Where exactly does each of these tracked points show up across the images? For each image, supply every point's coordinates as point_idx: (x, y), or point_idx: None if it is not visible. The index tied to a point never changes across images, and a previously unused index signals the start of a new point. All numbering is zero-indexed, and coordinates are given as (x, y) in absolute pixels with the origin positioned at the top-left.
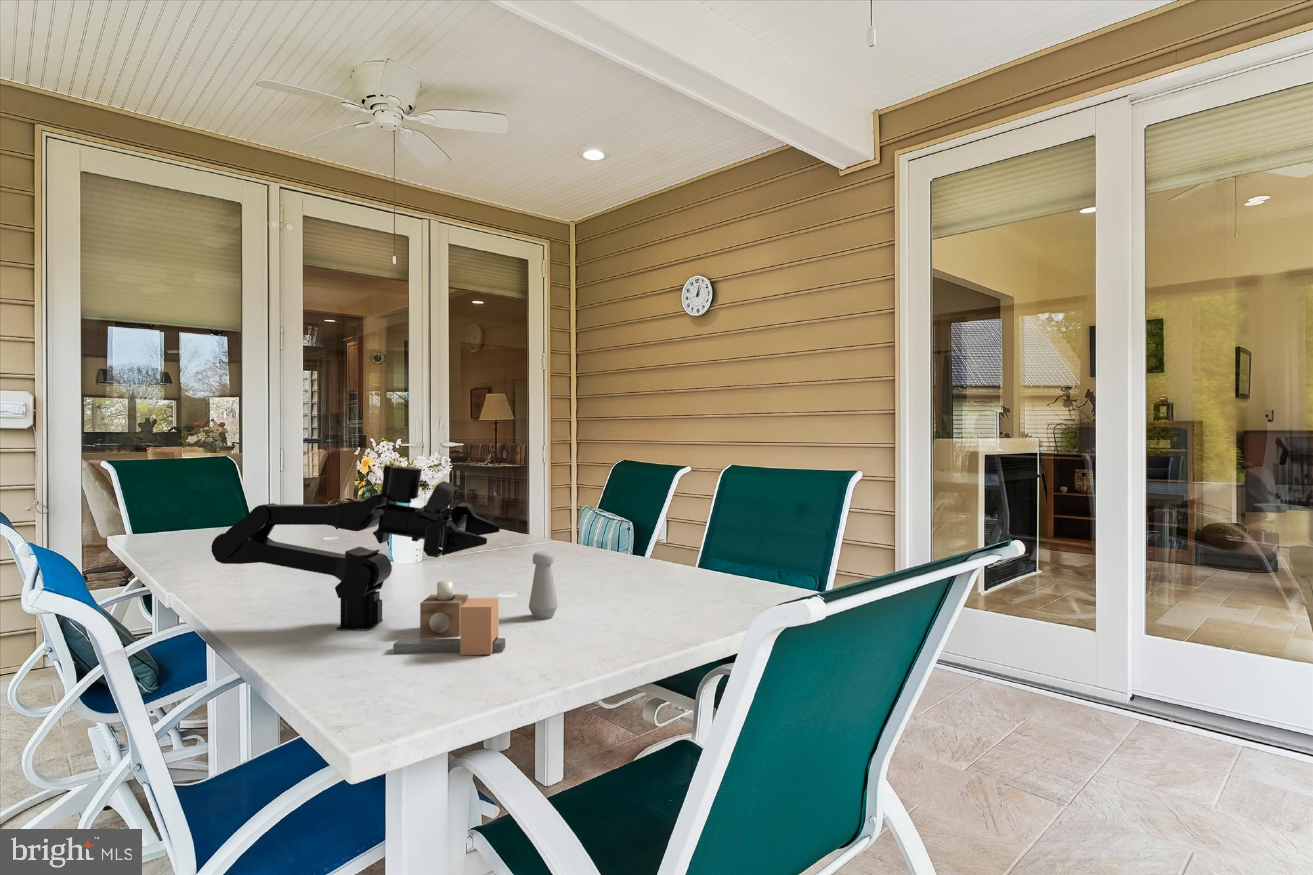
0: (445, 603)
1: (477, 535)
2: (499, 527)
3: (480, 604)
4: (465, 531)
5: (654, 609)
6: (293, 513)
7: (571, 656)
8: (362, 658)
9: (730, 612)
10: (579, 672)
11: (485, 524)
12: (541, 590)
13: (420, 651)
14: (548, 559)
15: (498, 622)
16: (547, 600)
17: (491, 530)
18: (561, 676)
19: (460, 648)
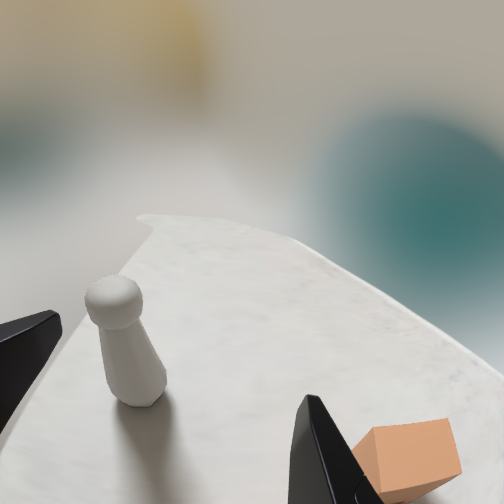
0: None
1: (325, 431)
2: (59, 315)
3: (435, 445)
4: (338, 498)
5: (160, 261)
6: None
7: (385, 358)
8: None
9: (201, 221)
10: (432, 347)
11: (6, 356)
12: (153, 360)
13: None
14: (141, 293)
15: (351, 450)
16: (161, 364)
17: (40, 355)
18: (448, 361)
19: (414, 499)
